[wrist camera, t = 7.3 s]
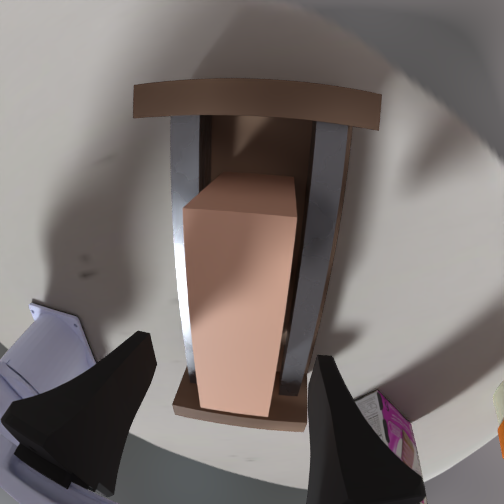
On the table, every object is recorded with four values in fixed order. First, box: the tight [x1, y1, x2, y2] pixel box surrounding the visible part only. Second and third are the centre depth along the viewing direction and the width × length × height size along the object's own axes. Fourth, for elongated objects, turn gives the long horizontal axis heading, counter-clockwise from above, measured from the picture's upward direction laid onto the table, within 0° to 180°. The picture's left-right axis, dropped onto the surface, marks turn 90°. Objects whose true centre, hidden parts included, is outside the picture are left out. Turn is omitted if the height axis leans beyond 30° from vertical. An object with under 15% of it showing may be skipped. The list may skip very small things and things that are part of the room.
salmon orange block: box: [183, 172, 297, 417], centre depth 16 cm, size 12×4×7 cm, turn 177°
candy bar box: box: [355, 390, 427, 504], centre depth 19 cm, size 11×5×16 cm, turn 42°
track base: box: [133, 78, 382, 432], centre depth 17 cm, size 22×10×6 cm, turn 177°
